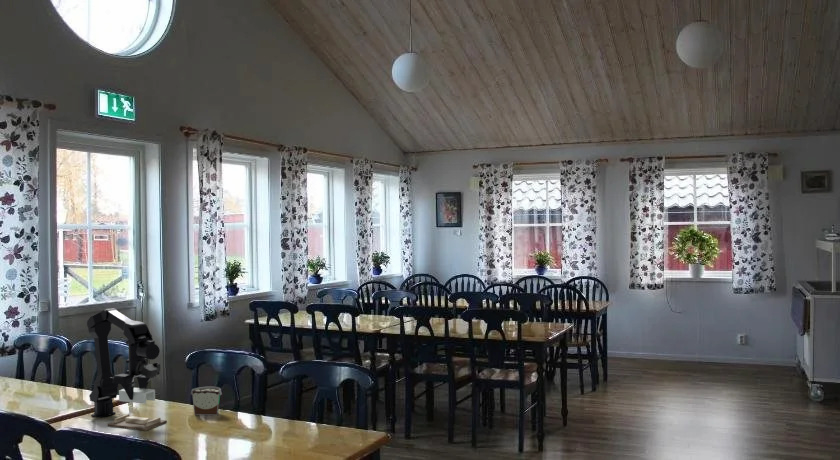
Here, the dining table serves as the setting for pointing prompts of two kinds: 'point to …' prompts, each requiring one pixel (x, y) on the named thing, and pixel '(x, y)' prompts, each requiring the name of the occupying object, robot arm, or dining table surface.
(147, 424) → the dock
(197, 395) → the food container
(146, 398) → the shell
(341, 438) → the dining table surface
